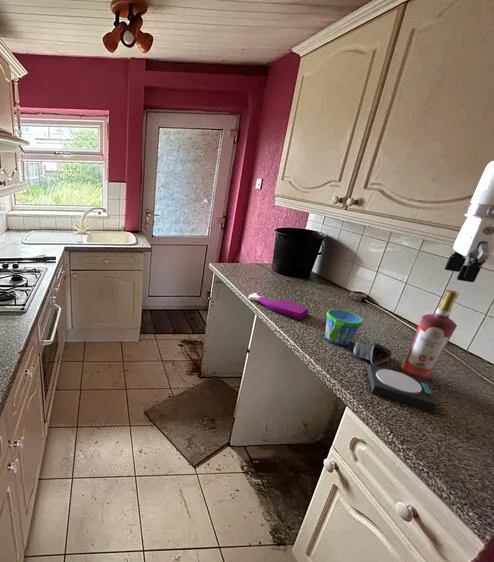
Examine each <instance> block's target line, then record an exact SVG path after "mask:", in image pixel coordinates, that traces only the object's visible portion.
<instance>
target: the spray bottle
mask: <svg viewBox="0 0 494 562" xmlns="http://www.w3.org/2000/svg"><path fill="white" fill-rule="evenodd" d="M248 300H253V301H257V303H259V304H261V305H263V306H264V307H266V308H268V309H269V310H271V311H273V312H275V313H277V314H281V315H283V316H286V317H288V318H292V319H295V320H301V319H302V318H305V317H306V316H308V314H309V308H308V307H305V306H303V305H300V304H298V303H295V302H292V301H289V300H284V299H283V300H280V299H279V300H271V299H268V298H265V296H262V295H259V294H258V292H254V293H252V294H249V295H248Z"/></svg>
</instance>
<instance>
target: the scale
mask: <svg viewBox="0 0 494 562" xmlns="http://www.w3.org/2000/svg"><path fill="white" fill-rule="evenodd" d="M366 372H367V376H368V381H369V386H370V390H371V394H375V395H377V396H381V397H385V398H388V399H391V400H394V401H397V402H401V403H404V404H408V405H410V406H413V407H417V408H420V409H424V410H427V411H430V412H432V413H433V412H434V411H435V409H436V407H437V402H436V400H435V398H434V396H433V394H432V391H431V389H430V387H429V386H428V385H429V384H428V383H427V381H426V379H422V378H418V377H415V376H411V375H407V374H406V373H405V372H400V371H396V370H392V369H389V368H386V367H381V366H378V365H376V366H375V365H373V364H371V363H369V364H368V367H367V370H366Z"/></svg>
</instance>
